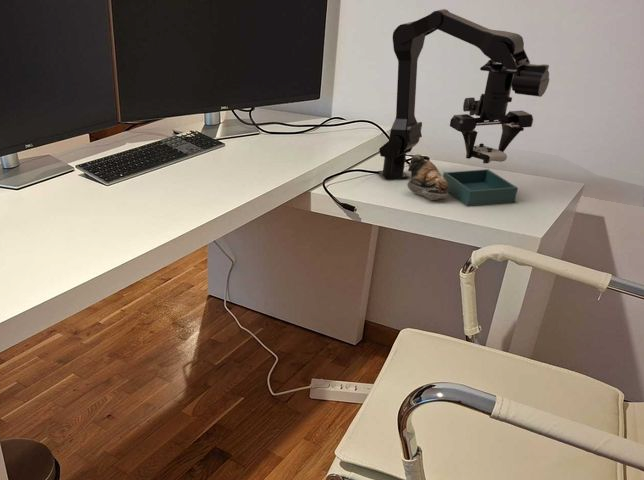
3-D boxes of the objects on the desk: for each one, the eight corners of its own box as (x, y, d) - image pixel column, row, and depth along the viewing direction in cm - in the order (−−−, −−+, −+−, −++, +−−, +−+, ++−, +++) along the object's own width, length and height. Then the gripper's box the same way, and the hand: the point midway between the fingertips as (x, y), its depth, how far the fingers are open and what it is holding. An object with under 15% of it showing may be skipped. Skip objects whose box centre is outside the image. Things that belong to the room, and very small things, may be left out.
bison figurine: (452, 199, 172) (459, 161, 167) (434, 205, 169) (441, 166, 164) (415, 187, 181) (420, 150, 175) (397, 193, 178) (402, 156, 172)
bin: (441, 186, 181) (443, 172, 179) (485, 182, 182) (488, 169, 179) (467, 206, 168) (470, 191, 166) (514, 202, 169) (518, 187, 167)
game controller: (510, 157, 167) (502, 143, 163) (496, 175, 168) (488, 161, 164) (478, 148, 174) (470, 135, 170) (465, 165, 175) (457, 152, 171)
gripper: (517, 82, 168) (503, 144, 177) (445, 86, 167) (435, 149, 176) (541, 91, 159) (525, 156, 167) (466, 96, 158) (454, 161, 166)
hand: (484, 155), depth 169 cm, fingers closed on game controller, 8 cm apart
